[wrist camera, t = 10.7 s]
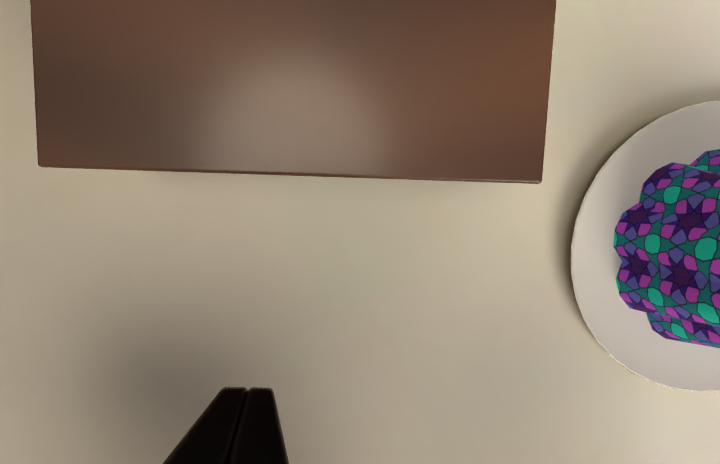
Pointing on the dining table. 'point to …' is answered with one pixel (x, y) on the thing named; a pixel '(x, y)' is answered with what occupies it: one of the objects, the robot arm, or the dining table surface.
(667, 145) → the pudding
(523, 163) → the lid
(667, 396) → the dining table surface
